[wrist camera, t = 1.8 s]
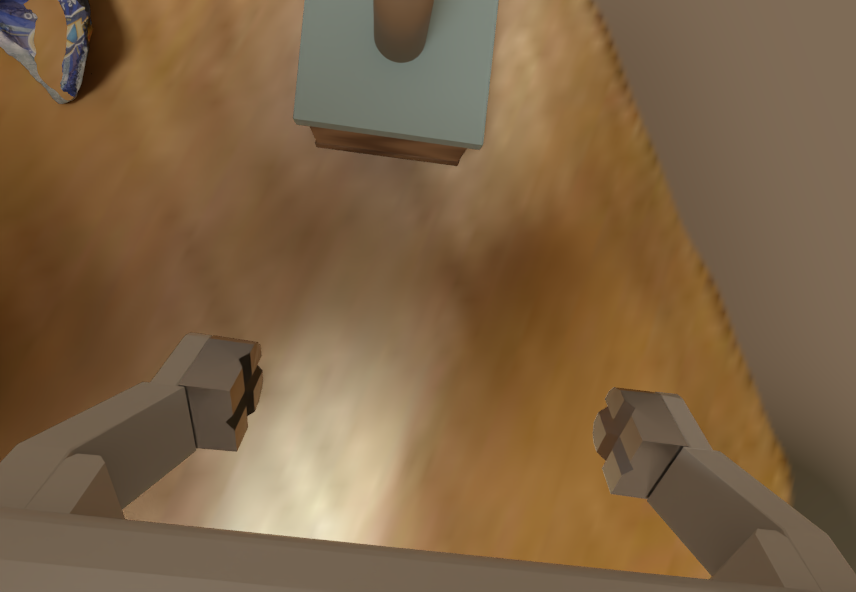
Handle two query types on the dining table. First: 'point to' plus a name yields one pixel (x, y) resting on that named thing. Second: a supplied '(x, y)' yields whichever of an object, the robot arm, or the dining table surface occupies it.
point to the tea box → (387, 146)
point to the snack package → (14, 31)
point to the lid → (397, 68)
